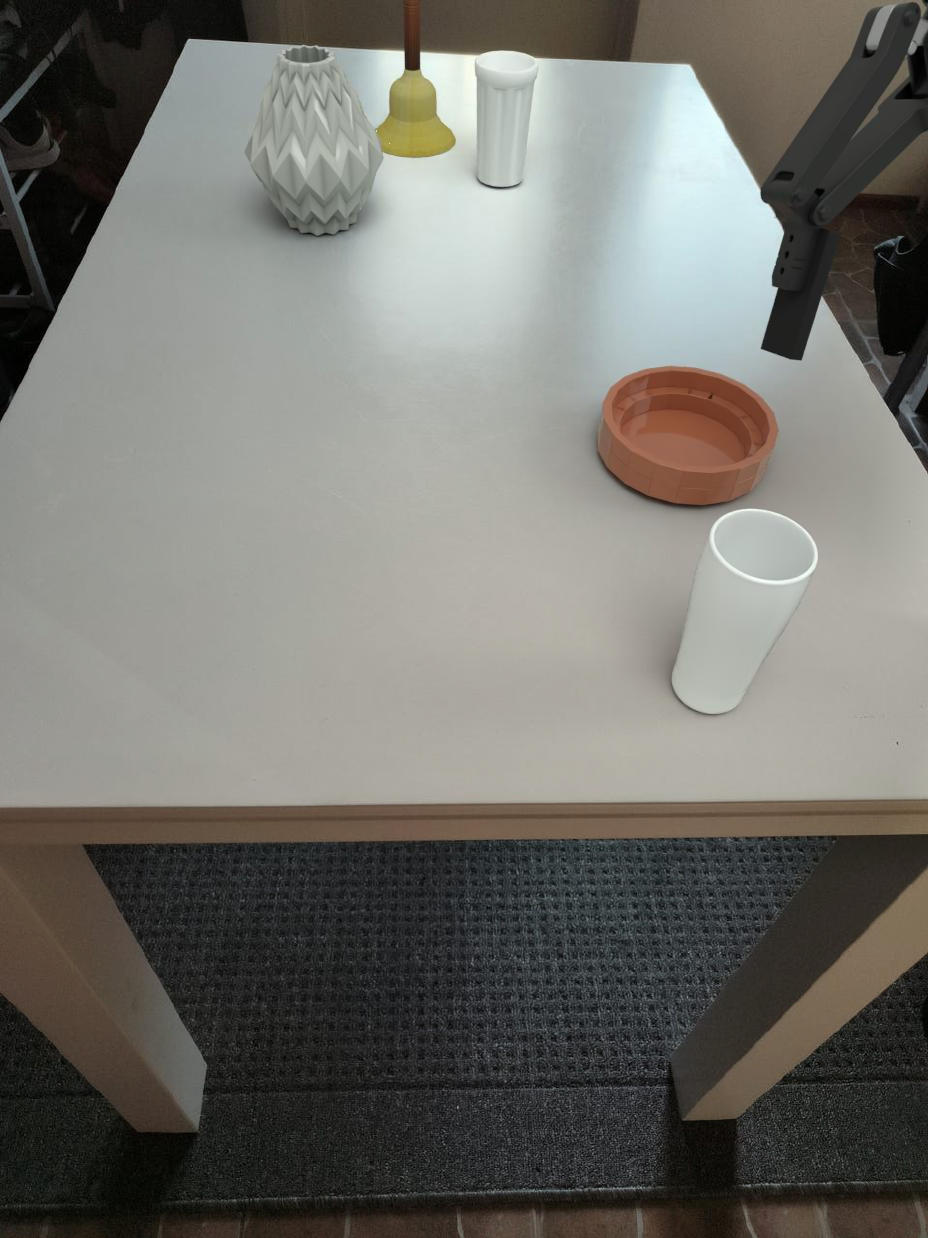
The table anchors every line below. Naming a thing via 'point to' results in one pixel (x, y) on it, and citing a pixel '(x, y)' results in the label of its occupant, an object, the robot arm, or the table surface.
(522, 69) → the cup
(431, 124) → the handbell
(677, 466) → the bowl
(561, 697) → the table surface
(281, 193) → the vase
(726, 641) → the drinking glass
